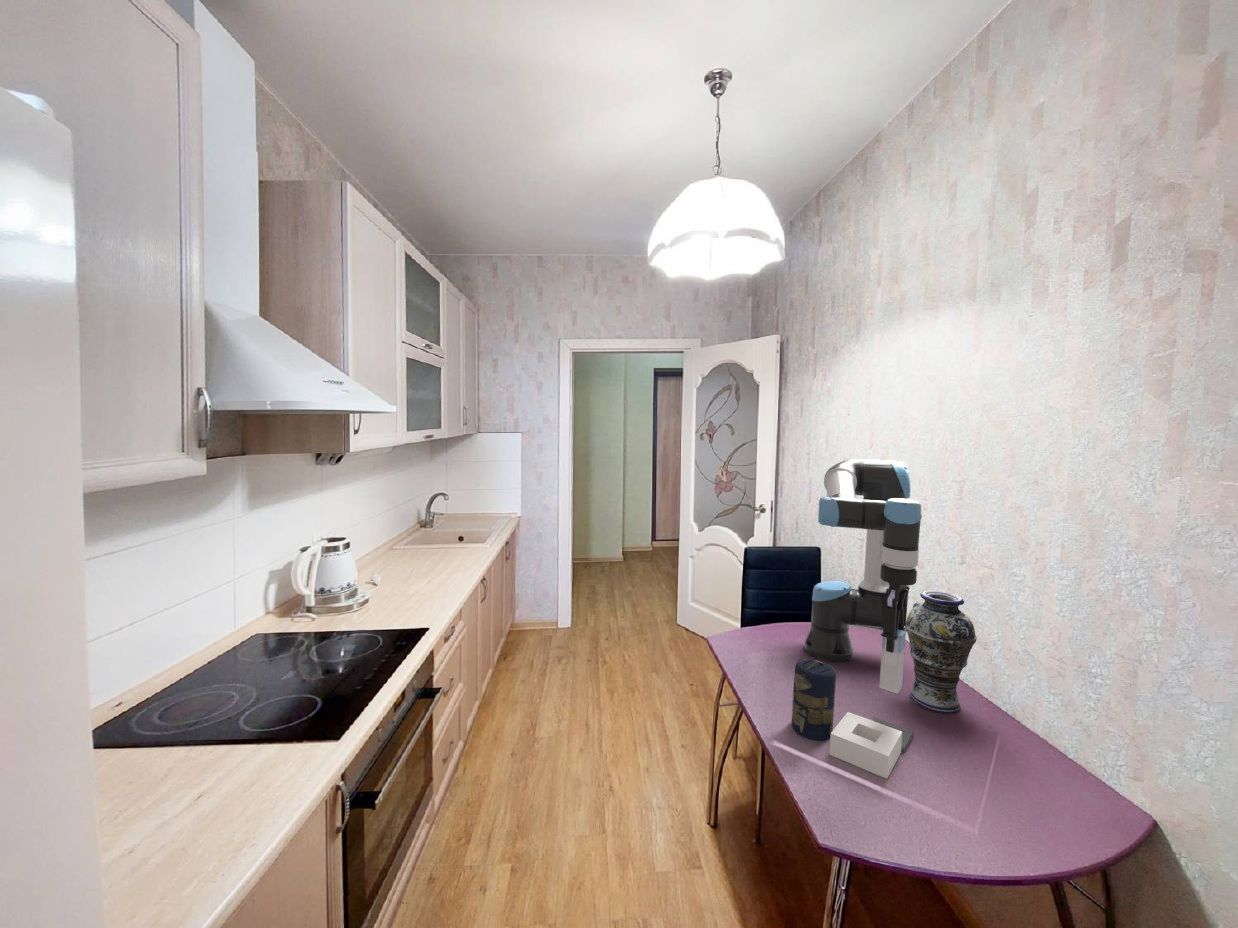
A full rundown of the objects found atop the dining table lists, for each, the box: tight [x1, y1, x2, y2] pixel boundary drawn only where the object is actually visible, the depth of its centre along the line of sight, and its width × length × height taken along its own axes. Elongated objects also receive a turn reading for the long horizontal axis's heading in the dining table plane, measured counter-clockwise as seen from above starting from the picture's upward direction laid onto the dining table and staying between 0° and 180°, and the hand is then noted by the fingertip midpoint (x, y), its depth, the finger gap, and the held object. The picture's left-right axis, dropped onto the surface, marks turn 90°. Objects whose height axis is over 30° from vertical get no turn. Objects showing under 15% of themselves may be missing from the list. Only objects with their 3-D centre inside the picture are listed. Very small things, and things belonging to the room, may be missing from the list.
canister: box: [791, 658, 837, 742], centre depth 128 cm, size 10×10×18 cm
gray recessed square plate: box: [871, 716, 914, 754], centre depth 127 cm, size 9×9×2 cm
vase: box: [904, 590, 978, 714], centre depth 143 cm, size 17×17×30 cm
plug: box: [879, 629, 907, 695], centre depth 125 cm, size 4×4×14 cm
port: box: [828, 711, 902, 780], centre depth 119 cm, size 12×12×6 cm
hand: (892, 660), depth 125 cm, fingers closed on plug, 4 cm apart
